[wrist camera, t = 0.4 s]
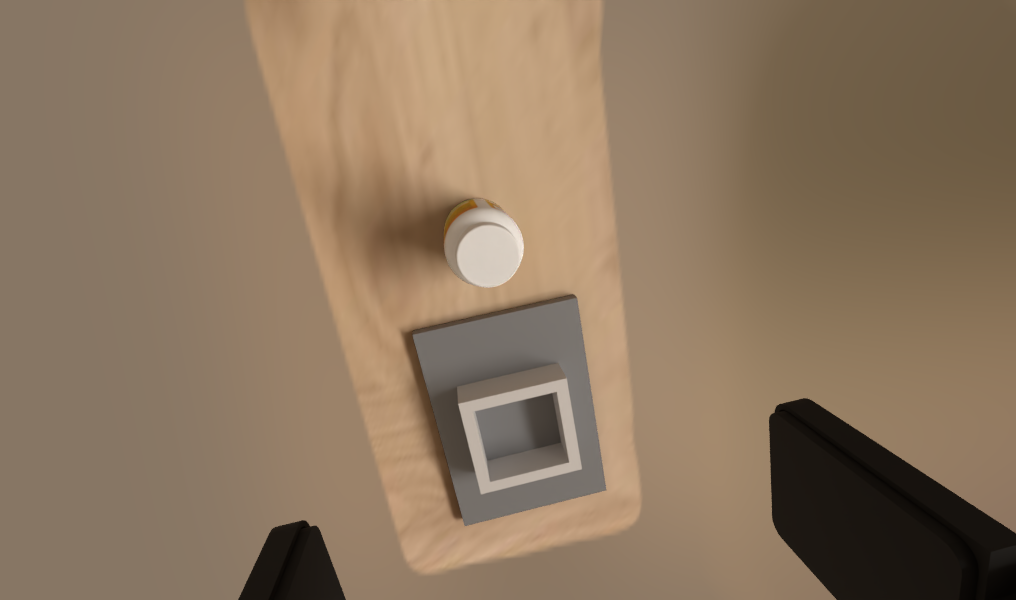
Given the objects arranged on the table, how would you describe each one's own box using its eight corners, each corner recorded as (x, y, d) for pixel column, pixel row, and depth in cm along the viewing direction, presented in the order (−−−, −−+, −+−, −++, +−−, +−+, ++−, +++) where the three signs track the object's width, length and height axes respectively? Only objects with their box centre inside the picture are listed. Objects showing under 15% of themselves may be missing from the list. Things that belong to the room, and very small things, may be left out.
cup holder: (413, 330, 41) (410, 349, 37) (574, 294, 42) (587, 308, 38) (464, 518, 47) (466, 550, 43) (603, 483, 48) (616, 512, 44)
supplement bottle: (442, 263, 39) (443, 298, 30) (443, 196, 38) (444, 211, 29) (508, 265, 40) (528, 299, 31) (512, 199, 39) (534, 214, 29)
